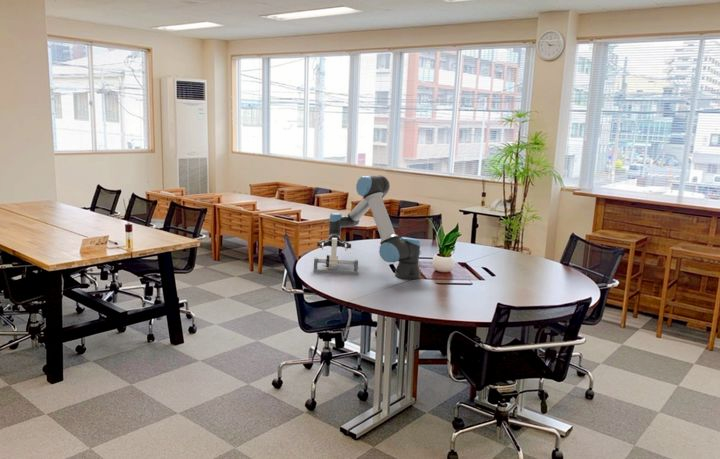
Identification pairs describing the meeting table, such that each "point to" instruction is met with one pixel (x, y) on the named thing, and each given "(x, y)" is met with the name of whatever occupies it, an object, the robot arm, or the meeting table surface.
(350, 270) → the pipe stand
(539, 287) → the meeting table surface
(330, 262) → the sleeve
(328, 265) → the ring
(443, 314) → the meeting table surface
